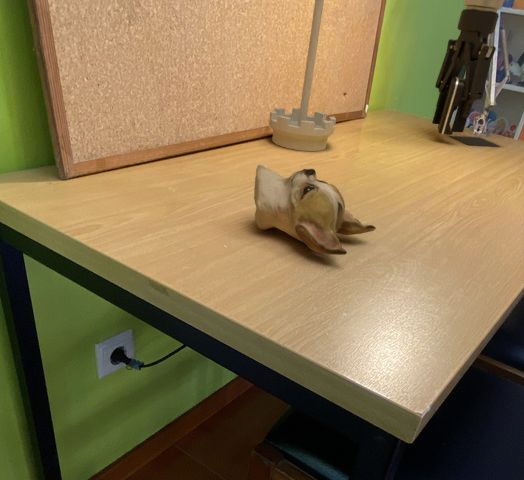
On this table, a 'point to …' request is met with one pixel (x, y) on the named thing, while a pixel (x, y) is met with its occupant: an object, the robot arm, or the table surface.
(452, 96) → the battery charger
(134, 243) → the table surface
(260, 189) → the ceramic sculpture
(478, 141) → the mat
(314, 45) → the flag stand
